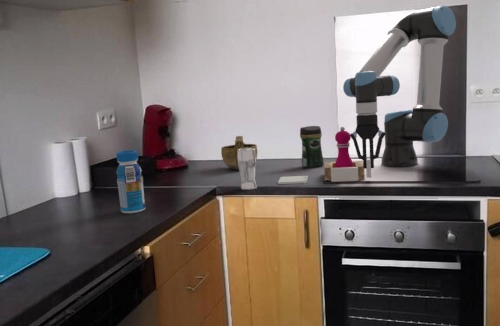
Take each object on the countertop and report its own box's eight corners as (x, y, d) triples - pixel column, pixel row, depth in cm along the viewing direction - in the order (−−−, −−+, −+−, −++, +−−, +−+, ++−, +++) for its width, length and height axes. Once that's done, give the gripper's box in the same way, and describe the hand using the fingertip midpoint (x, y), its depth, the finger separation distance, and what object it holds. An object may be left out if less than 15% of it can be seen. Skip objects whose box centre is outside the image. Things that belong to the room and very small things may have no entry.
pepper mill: (352, 174, 198) (350, 125, 195) (354, 178, 191) (352, 127, 188) (334, 175, 199) (332, 126, 196) (336, 179, 192) (333, 128, 189)
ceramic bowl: (259, 171, 222) (256, 138, 220) (221, 174, 222) (218, 141, 220) (257, 163, 244) (255, 133, 242) (223, 166, 244) (221, 136, 242)
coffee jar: (318, 164, 230) (316, 124, 227) (325, 166, 223) (324, 125, 220) (299, 166, 227) (297, 126, 225) (306, 169, 220) (304, 127, 217)
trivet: (308, 177, 199) (307, 175, 199) (306, 183, 189) (306, 181, 189) (281, 178, 201) (281, 176, 201) (277, 184, 191) (277, 182, 191)
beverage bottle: (115, 213, 162) (108, 153, 159) (129, 207, 170) (123, 149, 167) (136, 214, 159) (130, 153, 156) (151, 207, 167) (144, 149, 164)
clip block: (362, 172, 202) (362, 160, 201) (364, 179, 188) (364, 166, 187) (325, 174, 204) (325, 162, 204) (325, 180, 191) (324, 168, 190)
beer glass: (260, 186, 189) (258, 147, 187) (253, 190, 183) (250, 150, 180) (244, 186, 192) (241, 148, 190) (236, 189, 186) (233, 150, 183)
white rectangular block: (358, 179, 187) (357, 166, 186) (358, 180, 185) (357, 167, 184) (331, 180, 188) (330, 167, 188) (331, 181, 186) (330, 168, 186)
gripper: (384, 112, 184) (385, 174, 187) (348, 114, 186) (350, 175, 189) (386, 113, 176) (387, 178, 180) (349, 115, 179) (351, 179, 182)
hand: (368, 176), depth 185 cm, fingers closed
